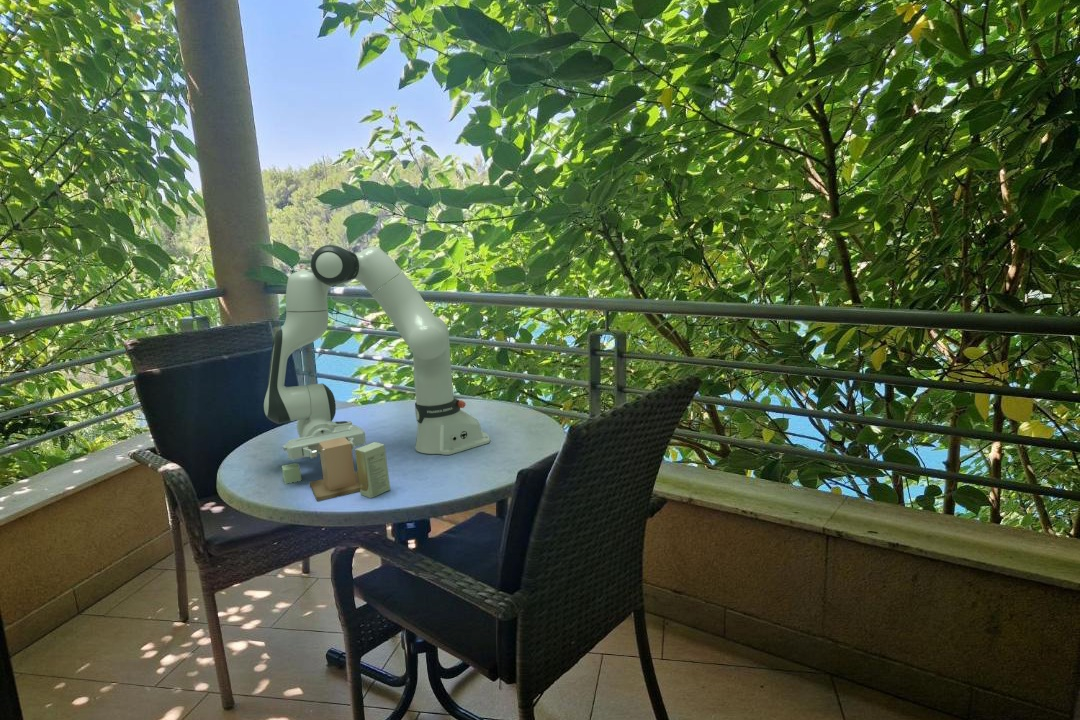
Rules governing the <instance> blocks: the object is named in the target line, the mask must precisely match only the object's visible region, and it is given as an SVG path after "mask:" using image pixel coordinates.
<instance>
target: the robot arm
mask: <svg viewBox="0 0 1080 720" xmlns="http://www.w3.org/2000/svg"><path fill="white" fill-rule="evenodd" d="M352 280H356V281H358V282H359V283H360V284H362V286H363V287H364V288H365V289H366V290H367V291H368V293H369V294H370V295H371V297H372V298H373V299H374V301H376V302H377V304H378V306H379V307H380V308H381V309H382V310H383V312H384V313H385V314H386V316H387V317H388V318H389V320H390V321H391V323H392V324H393V325H394V327H395V329H396V331H397V332H398V334H399V335H400V336H401V338H402V340H404V343H405V344H406V345H407V346H408V348H409V349H410V351H411V352H412V359H413V362H412V363H413V382H414V383H413V384H414V392H415V402H414V407H415V408H414V411H415V412H414V414H415V420H416V422H417V427H416V428H417V431H416V442H415V446H414V449H415V451H416V452H418V453H421V454H428V455H436V454H437V455H445V456H448V455H449V456H450V455H453V454H456V453H460V452H463V451H467V450H469V449H473V448H476V447H480V446H483V445H486V444H489V443H490V442H491V438H490V436H489V434H488V433H486V432H485V431H483V430H482V427H481V424H480V422H479V421H478V420H477V418H475V417H474V416H472V414H471V415H470V414H469V413H467V412H465V411H464V410H462V409H464V408H466V405H467V404H466V402H465V401H463V400H459V399H458V398H455V397H454V389H453V375H452V363H451V362H452V359H451V347H450V345H451V344H450V333H449V328H448V326H447V324H446V323H445V321H444V320H443V319H442V318H440V317H438V316H436V315H434V313H433V312H432V310H431V309H430V307H429V306H428V305H427V303H426V301H425V300H424V298H423V297H422V295H421V293H420V292H419V291H418V290H417V288H416V287H415V285H413V283H412V282H411V281H410V280H409V278H408V276H406V274H405V273H404V271H402V269H401V268H400V266H399V265H398V264H397V263H396V262H395V261H394V260H393V259H392V257H390V256H389V255H388V253H386V252H385V251H383V249H382V248H379V247H377V246H371V247H369V246H368V247H366V248H364V249H363V250H361V251H359V252H356V253H354V252H352V251H351V250H349V249H348V248H346V247H344V246H342V245H339V244H327V245H322V246H320V247H319V248H318V249H316V250H315V251H314V253H313V254H312V256H311V258H310V269H303V270H298V271H295V272H293V273H291V274H290V275H289V277H288V278H287V283H286V290H285V291H286V292H285V313H286V314H285V321H284V323H283V325H282V327H281V328H280V329H279V330H277V331H276V332H275V335H274V337H273V342H272V347H271V355H270V361H269V362H270V363H269V373H268V380H267V387H266V393H265V397H264V402H263V411H264V414H265V417H266V418H267V419H268V420H270V421H271V422H273V423H275V424H277V425H281V424H286V423H290V422H293V421H297V423H296V432H297V435H298V438H292V439H290V440H288V441H286V443H285V444H283V445H282V449H283V451H286V453H287V458H288V459H289V460H290V461H291V460H292V461H293V460H298V459H303V458H310V459H314V458H317V457H318V455H320V450H319V442H323V441H328V440H333V439H337V438H342V437H345V438H346V439H347V440H348V441H349V442H350V443H351V447H352V450H355V447H360V446H364V445H365V444H366V433H365V431H364V430H363V428H361V427H359V426H357V425H355V424H353V423H352V421H350V420H343V421H334V418H335V416H336V409H337V408H336V399H335V396H334V392H333V391H332V390H331V388H329V386H328V385H327V384H324V383H313V384H305V385H297V386H285V380H286V372H287V365H288V364H287V363H288V359H289V357H290V356H291V355H292V354H293V353H294V352H295V351H297V350H298V349H301V348H302V347H305V346H307V345H309V344H312V343H313V342H315V341H317V340H319V339H320V338H321V337H322V336H323V335H324V334H325V333H326V331H327V329H328V328H329V327H328V326H329V306H328V295H329V294H328V293H329V291H330V289H331V288H333V287H337V286H341V285H344V284H347V283H348V282H351V281H352Z"/></svg>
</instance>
